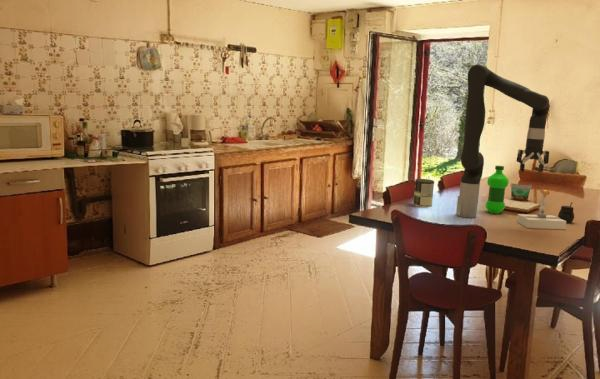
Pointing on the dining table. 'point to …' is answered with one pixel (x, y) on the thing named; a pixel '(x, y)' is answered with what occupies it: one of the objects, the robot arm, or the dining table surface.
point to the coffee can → (423, 192)
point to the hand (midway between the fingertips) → (530, 172)
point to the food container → (520, 192)
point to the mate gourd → (566, 213)
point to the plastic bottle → (496, 191)
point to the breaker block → (541, 221)
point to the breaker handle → (543, 203)
